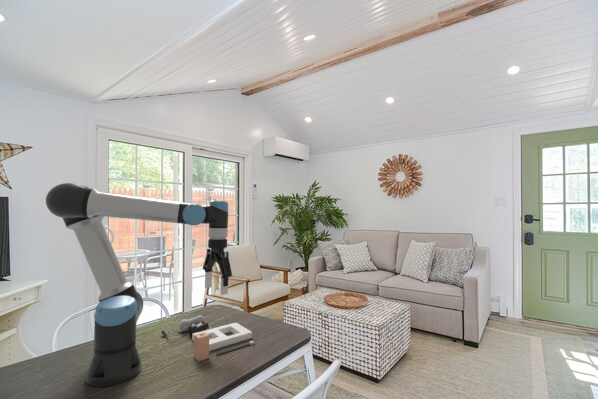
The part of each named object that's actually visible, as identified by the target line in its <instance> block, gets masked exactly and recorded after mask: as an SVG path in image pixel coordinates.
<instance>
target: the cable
mask: <svg viewBox="0 0 598 399" xmlns="http://www.w3.org/2000/svg"><path fill="white" fill-rule="evenodd" d="M255 344H256V343H255V341H254V340H250V341H249V342H247V343H244V344H240V345H238V346H235V347H231V348H228V349H224V350H221V351H219V352H215V356H219V355H223V354H225V353H229V352H231V351H235V350H238V349H241V348H244V347H246V346H247V347H248V346H253V345H255Z"/></svg>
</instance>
